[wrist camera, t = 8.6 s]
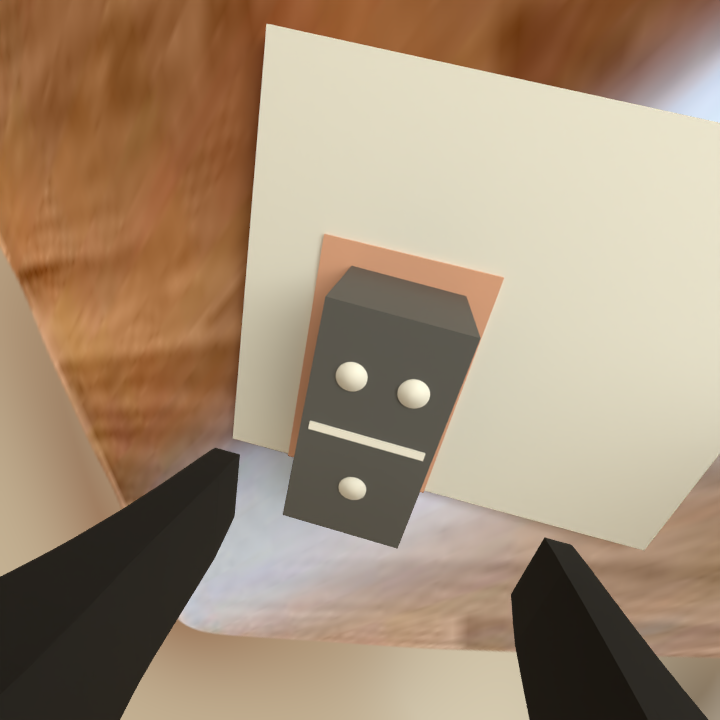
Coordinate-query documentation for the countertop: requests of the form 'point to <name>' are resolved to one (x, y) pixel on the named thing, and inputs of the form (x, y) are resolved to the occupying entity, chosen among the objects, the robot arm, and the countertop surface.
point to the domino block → (377, 402)
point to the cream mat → (498, 272)
